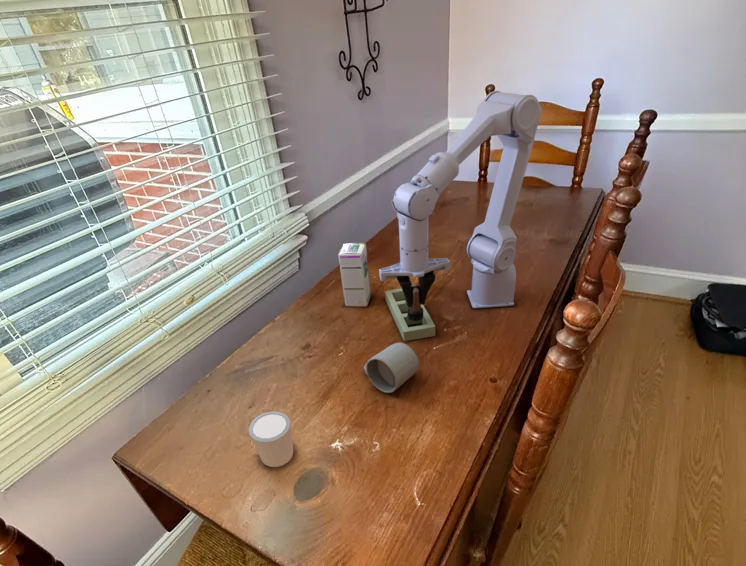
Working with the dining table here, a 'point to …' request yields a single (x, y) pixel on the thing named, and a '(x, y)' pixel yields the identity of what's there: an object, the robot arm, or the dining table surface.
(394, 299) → the rack
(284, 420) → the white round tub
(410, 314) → the silver rounded cylinder
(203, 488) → the dining table surface
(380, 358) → the ceramic mug
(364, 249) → the syrup box
